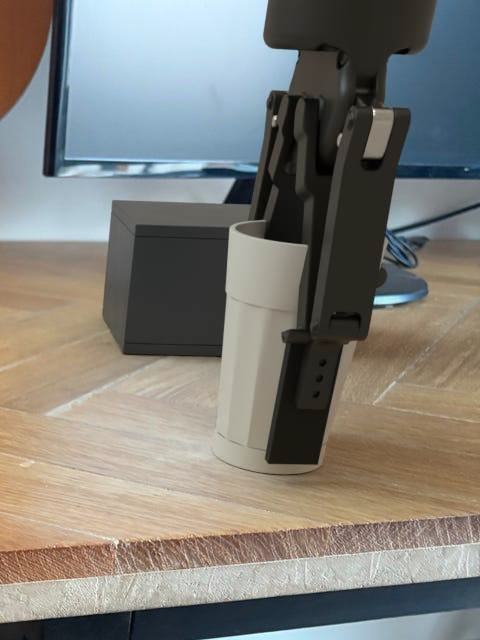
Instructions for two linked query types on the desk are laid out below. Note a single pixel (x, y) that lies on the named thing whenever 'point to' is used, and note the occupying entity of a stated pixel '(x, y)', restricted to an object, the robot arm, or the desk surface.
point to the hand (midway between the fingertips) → (270, 435)
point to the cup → (260, 346)
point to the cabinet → (168, 276)
